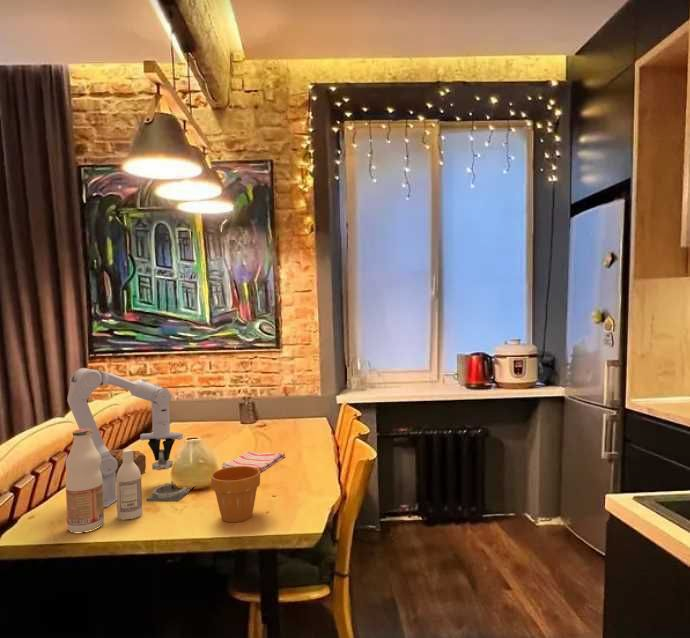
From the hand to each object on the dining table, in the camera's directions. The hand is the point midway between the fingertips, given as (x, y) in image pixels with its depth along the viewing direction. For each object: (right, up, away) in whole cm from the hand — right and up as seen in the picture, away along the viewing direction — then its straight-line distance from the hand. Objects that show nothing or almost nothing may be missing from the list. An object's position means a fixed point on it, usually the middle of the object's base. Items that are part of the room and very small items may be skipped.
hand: (162, 460), depth 182 cm
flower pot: (+33, -9, -29) cm, 45 cm away
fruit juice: (-10, -10, -34) cm, 37 cm away
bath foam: (0, -10, -27) cm, 28 cm away
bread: (-22, -10, +14) cm, 28 cm away
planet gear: (0, -3, 0) cm, 3 cm away
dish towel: (+28, -9, +25) cm, 39 cm away
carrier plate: (+6, -9, -7) cm, 13 cm away
